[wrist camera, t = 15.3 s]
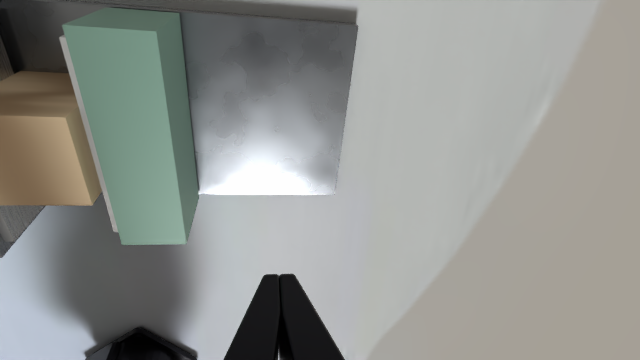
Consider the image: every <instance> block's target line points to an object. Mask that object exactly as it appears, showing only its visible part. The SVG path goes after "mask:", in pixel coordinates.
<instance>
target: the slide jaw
mask: <svg viewBox="0 0 640 360" xmlns="http://www.w3.org/2000/svg"><path fill="white" fill-rule="evenodd" d="M62 27H63V30H64V34H65V35H63V36H60V37H59V39H60V42H61V46H62V50H63V53H64V57H65V60H66V64H67V67H68V71H69V74H70V78H71V82H72V85H73V89H74V92H75V96H76V99H77V103H78V106H79V110H80V114H81V117H82V121H83V124H84V128H85V131H86V135H87V139H88V142H89V146H90V149H91V153H92V156H93V160H94V163H95V167H96V171H97V174H98V178H99V181H100V185H101V188H102V192H103V196H104V199H105V203H106V206H107V210H108V213H109V217H110V220H111V224H112V228H113V231H114V232H118V233H119V236H120V240H121V244H122V245H165V244H187V240H188V237H189V233H190V229H191V225H192V221H193V218H194V214H195V210H196V206H197V203H198V199H199V193H198V184H197V174H196V165H195V156H194V146H193V137H192V128H191V118H190V109H189V100H188V90H187V81H186V72H185V62H184V53H183V44H182V34H181V25H180V16H179V13H172V12H159V11H147V10H134V9H121V8H108V7H105V8H103V9H100V10H98V11H95V12H93V13H90V14H88V15H85V16H83V17H81V18H78V19H76V20H73V21H71V22H68V23H66V24H63V25H62Z"/></svg>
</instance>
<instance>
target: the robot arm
mask: <svg viewBox="0 0 640 360" xmlns="http://www.w3.org/2000/svg"><path fill="white" fill-rule="evenodd" d="M278 353H279V359H280V360H345V359H344V357H343V356H342V354H341V352H340V351H339V349H338V347H337V346H336V344H335V342H334V340H333V339H332V337H331V335H330V334H329V332H328V330H327V329H326V327H325V325H324V324H323V322H322V320H321V318H320V317H319V315H318V313H317V312H316V310H315V308H314V307H313V305H312V303H311V302H310V300H309V298H308V296H307V295H306V293H305V291H304V290H303V288H302V286H301V285H300V283H299V281H298V280H297V278H296V276H295V275H294V274H281V275H280V276H279V275H277V274H266V275H264V276H263V278H262V280H261V282H260V284H259V286H258V288H257V290H256V293H255V295H254V297H253V299H252V301H251V303H250V305H249V307H248V309H247V311H246V314H245V316H244V318H243V320H242V322H241V324H240V326H239V328H238V330H237V333H236V335H235V337H234V339H233V341H232V343H231V345H230V347H229V349H228V351H227V354H226V356H225V358H224V360H278ZM85 360H197V358H195V357H194V356H192V355H190V354H188V353H187V352H185V351H183V350H181V349H179V348H178V347H176V346H174V345H172V344H170V343H169V342H167V341H165V340H163V339H161V338H160V337H158V336H156V335H154V334H153V333H151V332H149V331H147V330H145V329H143V328H136V329H134V330H132V331H131V332H129V333H127V334H126V335H124V336H122V337H121V338H119V339H117V340H116V341H114V342H112V343H110V344H109V345H107V346H105V347H104V348H102V349H100V350H99V351H97V352H95V353H94V354H92V355H91V356H89V357H87V358H86V359H85Z"/></svg>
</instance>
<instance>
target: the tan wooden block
mask: <svg viewBox="0 0 640 360" xmlns="http://www.w3.org/2000/svg"><path fill="white" fill-rule="evenodd" d="M101 192H102V188H101V185H100V181H99V178H98V174H97V171H96V167H95V163H94V160H93V156H92V153H91V149H90V146H89V142H88V139H87V135H86V131H85V128H84V124H83V121H82V117H81V114H80V110H79V106H78V103H77V99H76V96H75V92H74V89H73V85H72V82H71V78H70V74H69V73H51V72H31V71H19V72H18V73H16V74H14V75H12V76H10V77H8V78H6V79H4V80H2V81H0V205H93V204H94V202H95V201H96V199H97V198H98V196H99V195H100V193H101Z"/></svg>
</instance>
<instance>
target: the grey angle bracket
mask: <svg viewBox="0 0 640 360" xmlns="http://www.w3.org/2000/svg"><path fill="white" fill-rule="evenodd" d="M105 7H108V8H121V9H134V10H147V11H159V12H172V13H179V16H180V25H181V34H182V44H183V53H184V62H185V72H186V81H187V90H188V100H189V109H190V118H191V128H192V137H193V146H194V156H195V165H196V174H197V184H198V193H199V194H239V195H335V189H336V181H337V174H338V167H339V160H340V153H341V146H342V139H343V132H344V124H345V117H346V110H347V103H348V96H349V89H350V82H351V75H352V67H353V60H354V53H355V46H356V39H357V32H358V25H357V24H353V23H341V22H328V21H316V20H303V19H291V18H278V17H266V16H253V15H241V14H228V13H216V12H203V11H190V10H178V9H165V8H153V7H140V6H128V5H115V4H103V3H90V2H78V1H65V0H0V81H2V80H4V79H6V78H8V77H10V76H12V75H14V74H16V73H18V72H19V71H31V72H51V73H69V71H68V67H67V64H66V60H65V57H64V53H63V50H62V46H61V42H60V39H59V37H60V36H63V35H65V34H64V30H63V27H62V25H63V24H66V23H68V22H71V21H73V20H76V19H78V18H81V17H83V16H85V15H88V14H90V13H93V12H95V11H98V10H100V9H103V8H105ZM100 194H103V192H101V193H100ZM45 206H46V205H0V258H2V257H3V256H4V255H5V254H6V252H7V251H8V250H9V249H10V248H11V246H12V245H13V244H14V243H15V242H16V240H17V239H18V238H19V237H20V236H21V235H22V233H23V232H24V231H25V230H26V229H27V227H28V226H29V225H30V224H31V223H32V221H33V220H34V219H35V218H36V217H37V216H38V214H39V213H40V212H41V211H42V210H43V208H44V207H45Z"/></svg>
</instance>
